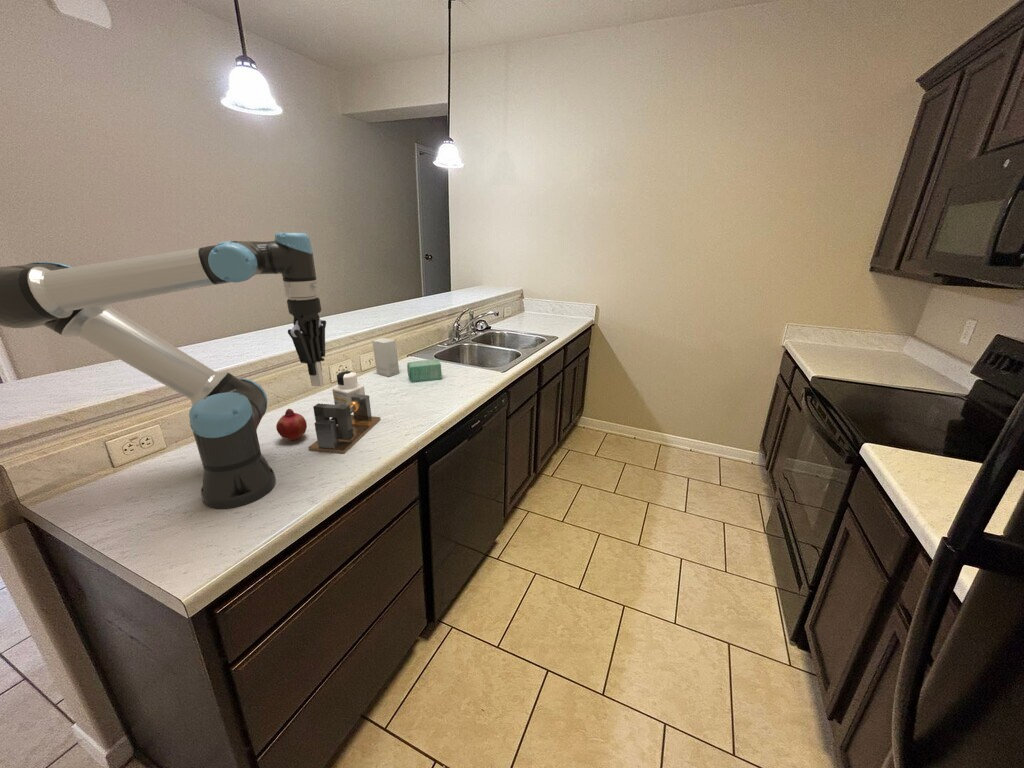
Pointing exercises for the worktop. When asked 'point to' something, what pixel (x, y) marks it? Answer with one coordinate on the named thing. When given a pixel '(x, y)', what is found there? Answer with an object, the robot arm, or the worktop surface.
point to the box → (424, 370)
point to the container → (346, 388)
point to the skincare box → (386, 356)
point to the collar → (342, 418)
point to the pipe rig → (360, 424)
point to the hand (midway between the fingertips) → (317, 385)
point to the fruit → (291, 425)
